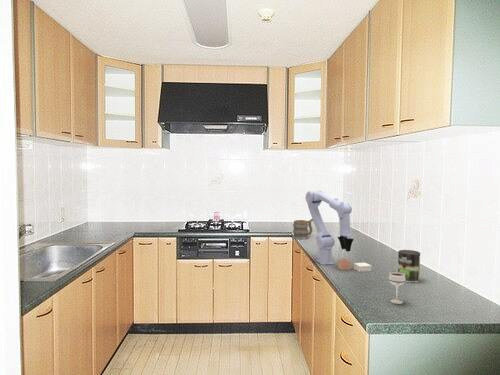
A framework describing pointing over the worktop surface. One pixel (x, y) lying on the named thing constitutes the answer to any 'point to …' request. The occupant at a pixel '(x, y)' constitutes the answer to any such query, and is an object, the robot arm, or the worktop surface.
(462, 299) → the worktop surface
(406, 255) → the coffee can
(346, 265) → the terracotta cube
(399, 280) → the wineglass
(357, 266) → the cream plinth
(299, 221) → the tankard
